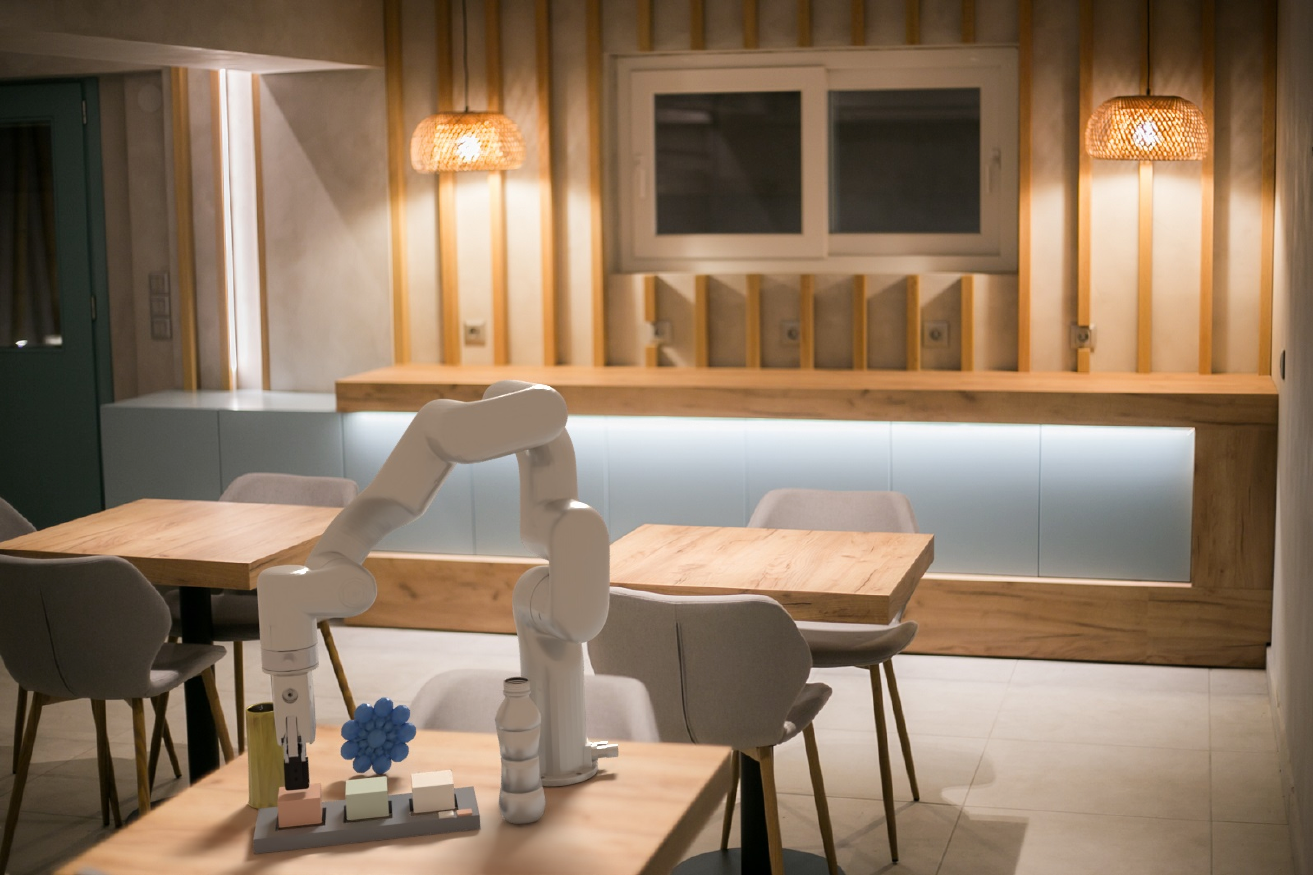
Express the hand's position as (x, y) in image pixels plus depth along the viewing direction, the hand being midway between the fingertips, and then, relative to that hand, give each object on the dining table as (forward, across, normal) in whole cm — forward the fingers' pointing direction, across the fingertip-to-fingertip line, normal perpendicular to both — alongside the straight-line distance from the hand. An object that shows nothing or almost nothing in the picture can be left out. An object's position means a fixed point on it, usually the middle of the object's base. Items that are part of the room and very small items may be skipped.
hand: (297, 787), depth 197 cm
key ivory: (+4, 0, -18) cm, 19 cm away
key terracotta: (+5, 0, 0) cm, 5 cm away
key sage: (+4, 0, -9) cm, 10 cm away
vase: (+7, +13, +5) cm, 15 cm away
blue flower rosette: (+7, +21, -11) cm, 25 cm away
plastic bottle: (+6, -4, -30) cm, 31 cm away
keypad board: (+6, 0, -9) cm, 11 cm away
